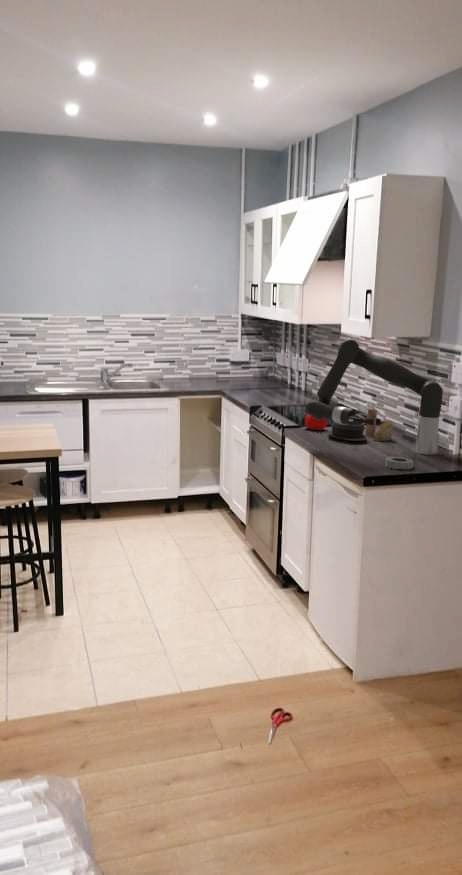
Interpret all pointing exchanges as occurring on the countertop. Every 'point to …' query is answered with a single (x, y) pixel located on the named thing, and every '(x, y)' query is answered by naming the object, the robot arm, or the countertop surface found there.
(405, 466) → the collar
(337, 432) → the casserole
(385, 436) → the rock
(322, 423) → the tomato
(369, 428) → the dowel
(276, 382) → the countertop surface
